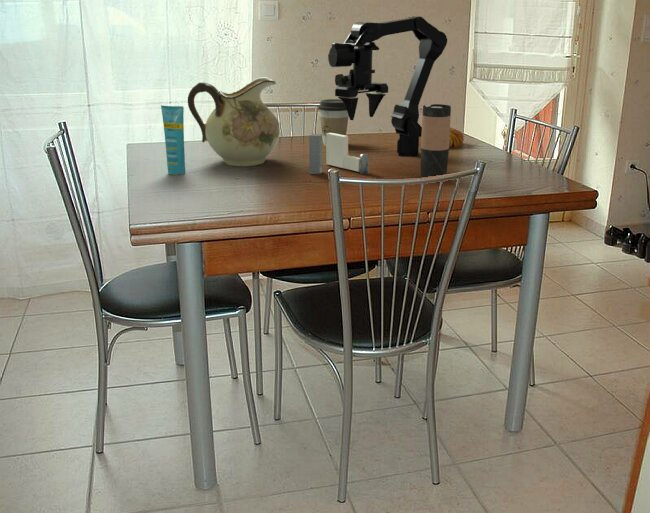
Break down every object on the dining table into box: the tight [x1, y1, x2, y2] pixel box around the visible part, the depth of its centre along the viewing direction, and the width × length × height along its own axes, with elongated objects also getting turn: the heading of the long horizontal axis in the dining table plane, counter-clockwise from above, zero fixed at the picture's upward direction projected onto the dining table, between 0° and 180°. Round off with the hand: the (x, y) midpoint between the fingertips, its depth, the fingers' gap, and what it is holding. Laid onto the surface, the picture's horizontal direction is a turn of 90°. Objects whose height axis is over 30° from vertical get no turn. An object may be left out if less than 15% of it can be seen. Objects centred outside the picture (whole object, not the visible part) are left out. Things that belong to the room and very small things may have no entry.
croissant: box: [449, 126, 465, 149], centre depth 248 cm, size 14×16×8 cm
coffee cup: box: [317, 98, 349, 147], centre depth 246 cm, size 11×11×15 cm
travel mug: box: [420, 103, 452, 178], centre depth 198 cm, size 8×8×20 cm
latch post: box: [308, 133, 323, 175], centre depth 206 cm, size 3×3×11 cm
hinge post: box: [359, 153, 370, 175], centre depth 207 cm, size 2×2×6 cm
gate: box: [325, 133, 360, 173], centre depth 212 cm, size 14×2×9 cm, turn 40°
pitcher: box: [187, 76, 281, 167], centre depth 218 cm, size 22×24×25 cm
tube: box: [160, 104, 186, 176], centre depth 205 cm, size 7×5×19 cm, turn 72°
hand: (361, 118), depth 222 cm, fingers open, 9 cm apart
